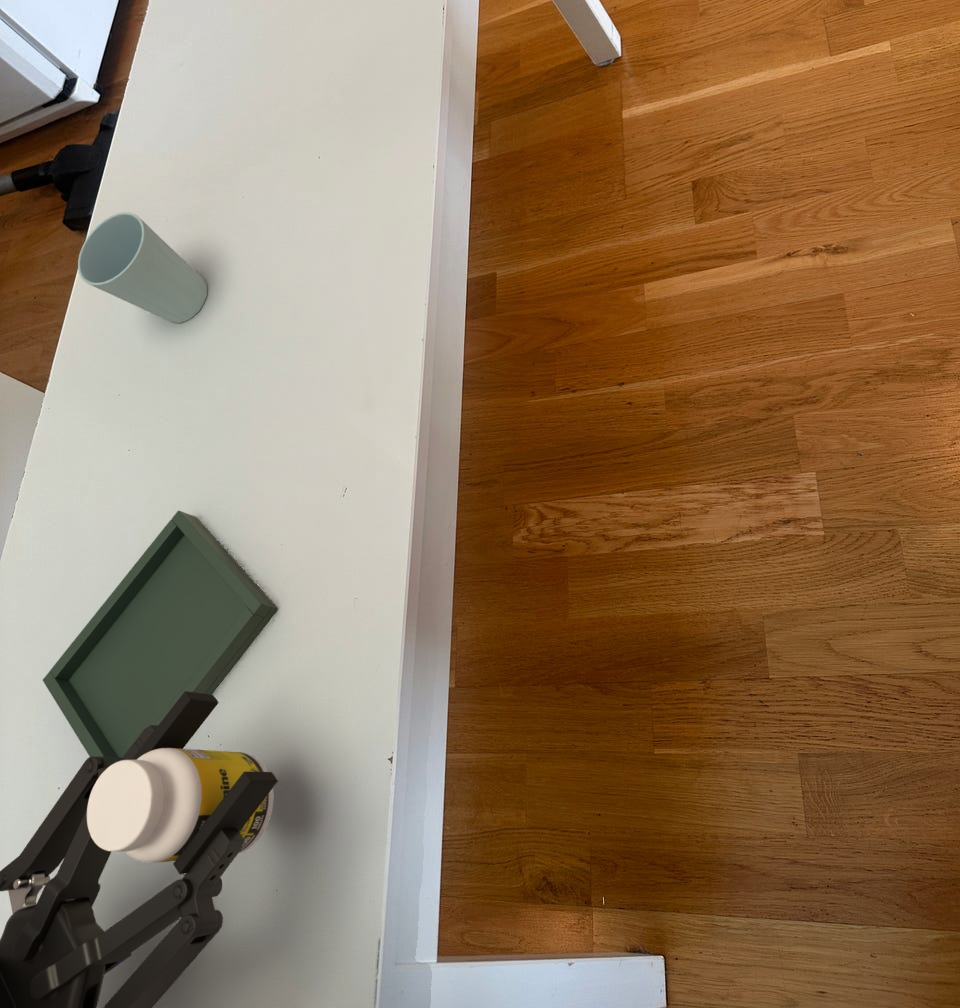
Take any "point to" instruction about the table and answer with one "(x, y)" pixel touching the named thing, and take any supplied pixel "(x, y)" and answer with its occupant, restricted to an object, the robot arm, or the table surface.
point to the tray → (158, 638)
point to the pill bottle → (168, 801)
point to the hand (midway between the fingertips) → (230, 735)
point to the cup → (141, 269)
